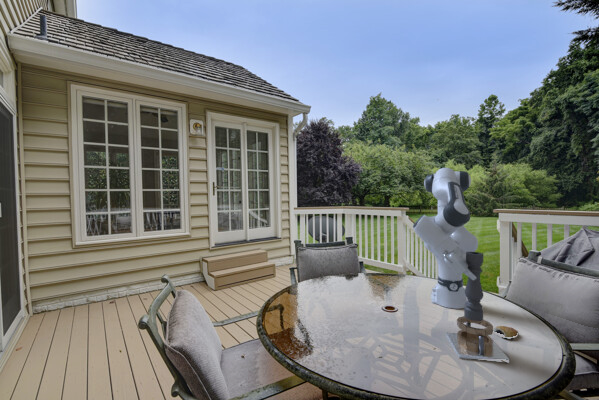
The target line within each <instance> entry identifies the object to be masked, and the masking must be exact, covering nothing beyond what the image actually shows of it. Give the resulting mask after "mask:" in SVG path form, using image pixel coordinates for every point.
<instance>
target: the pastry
mask: <svg viewBox="0 0 599 400" xmlns="http://www.w3.org/2000/svg"><path fill="white" fill-rule="evenodd" d="M493 331H494V332H497V333H500V334H503V335H504V336H505V337H513V336H516V335H517V333H518V334H519V331H518V330H516V329H515V328H514V327H511V326H506V325H497V326H495V328H493Z"/></svg>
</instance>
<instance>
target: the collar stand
mask: <svg viewBox="0 0 599 400" xmlns="http://www.w3.org/2000/svg"><path fill="white" fill-rule="evenodd" d="M472 324H476V325H479V326H480V325H481V326H482V327H484V328H479V327H473V326H472ZM456 325H457V327H458V328H459V329H460V330H458V331H457V332H445V336H446V339H447V340H448V341H449V344H450V345H451V347H452V348H453V350H454V352H455V354H456V356H457V358H458V359H464V360H471V359H506V360H509V361H510V358H509V357H508V356H507V355H506V354H505V353H504V352H503V350H502V349H501V348H500V347H499V346H498V344H496V343H495V342H494V339H493V338H492V337H491V336H492V335H493V334H494V333H493V330H494V326H493V324H492V323H490V322H489V321H487V320H485V319H483V320H482V321H473V320H470V319H467V318H466V317H465V316H463V315H462V316H459V317H458V318H457V319H456ZM490 335H491V336H490Z"/></svg>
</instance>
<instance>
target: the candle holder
mask: <svg viewBox="0 0 599 400" xmlns="http://www.w3.org/2000/svg"><path fill="white" fill-rule="evenodd" d="M466 261H467V263H468V265H469V266H468V269H469V270H470V271H471V272H472V273H474V274H475V275H476V276H477V278H476V279H475V280H472V279H471V278H470V277H468V276H467V283H466V284H465V287H464V288H465V295H466V297H467V302H466V303H465V305H466V306H465V307H464V308H463V309H464V310H463V311H464V312H463V313H464V314H463V315H464V316H465V317H466V318H467V319H470V320H473V321H482V320H484V309H483V308H484V307H483V305H482V304H481V302H482V301H481V300H482V299H483V298H484V292H483V288H482V283H481V273H482V272H483V269H482V268H481V267H482V265H483V263H484V253H482V252H478V251H475V252H466Z"/></svg>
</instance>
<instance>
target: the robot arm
mask: <svg viewBox="0 0 599 400" xmlns="http://www.w3.org/2000/svg"><path fill="white" fill-rule="evenodd" d="M471 183H472V178H471V176H470V174H469V172H467V171H466V170H465V171H464V170H460V171H454V169H452V168H450V167H442V168H439V169H438V170H437V171H436V172H435V173H430V174H427V175H426V176H425V178H424V181H423V185H424V188H425V190H426V191H427V192H428V193H431V194H432V196H433V197H434V198H435V199H436V200H437V215H434V216H428V215H425V214H422V215H421V216H420V217H419V218H417V220H416V221H415V222H414V223H413V225H412V228H413V231H414V232H415V234H416V235H417V236H418V237H419V238H420V239H421V241H423V245H424V247H425V248H426V249H427V250H428V251H429V252H430V253H431V254H433V256H434V257H435V259H436V261H437V265H438V276H437V283H436V284H435V286H434V287H432V288H431V289H432V292H431V293H430V294H431V295H430V300H431V303H432V304H434V305H435V304H436V305H439V306H442V307H444V308H449V309H456V310H457V309H464V307H465V306H466V305H465V303H466V302H467V301H468V300H467V297H466V295H465V288H466V287H464V279H463V274H464V275H465V276H467V278H468V277H470V278H471V279H472V280H475V279H476V278H477V276H476V275H475V274H474V273H472V272H471V271H470V270H469V269H468V266H469V265H468V263H467V261H466V252H477V249H478V247H479V241H478V238H477V237H476V236H475V234H472V233H471V232H470V231H469V230H468V229H467V228H466V227H465V226H464V225H466V224H467V223H469V221H470V220H471V212H470V210H469V207H468V206H467V204H466V200H465V195H464V192H466V191H468V189H469V188H470V187H471Z"/></svg>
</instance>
